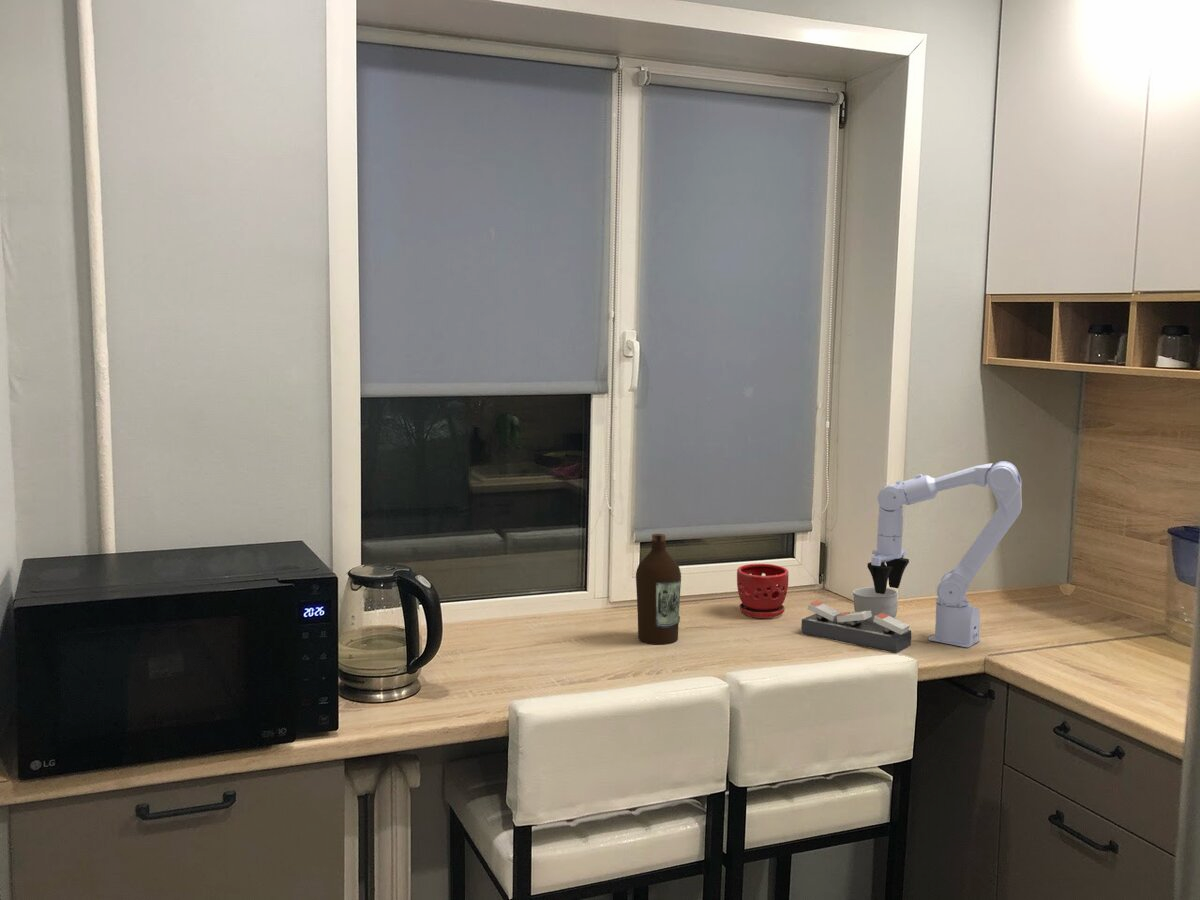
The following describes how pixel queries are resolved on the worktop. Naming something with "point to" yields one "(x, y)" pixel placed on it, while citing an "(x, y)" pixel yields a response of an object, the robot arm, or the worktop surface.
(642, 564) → the olive oil
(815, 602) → the rocker
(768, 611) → the plant pot
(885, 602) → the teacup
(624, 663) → the worktop surface
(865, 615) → the block
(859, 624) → the switch panel
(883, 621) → the block
